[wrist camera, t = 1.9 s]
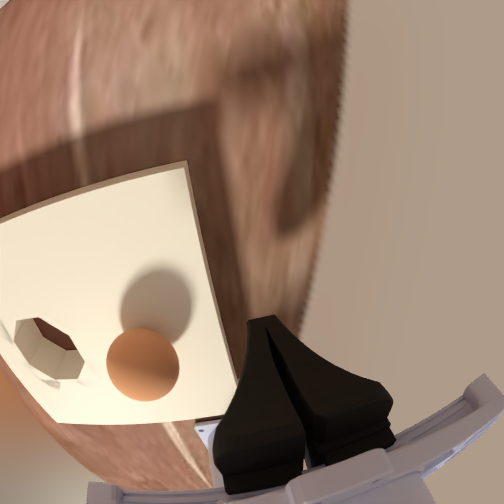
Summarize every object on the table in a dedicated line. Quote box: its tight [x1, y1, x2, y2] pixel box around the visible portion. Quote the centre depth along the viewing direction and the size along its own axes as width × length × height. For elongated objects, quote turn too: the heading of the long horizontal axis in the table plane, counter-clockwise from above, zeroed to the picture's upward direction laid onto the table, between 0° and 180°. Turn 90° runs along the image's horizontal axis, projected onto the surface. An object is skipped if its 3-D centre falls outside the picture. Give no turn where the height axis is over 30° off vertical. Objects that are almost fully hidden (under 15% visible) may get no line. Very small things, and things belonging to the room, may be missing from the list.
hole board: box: [0, 160, 238, 425], centre depth 14 cm, size 16×16×3 cm
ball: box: [106, 328, 180, 402], centre depth 12 cm, size 4×4×4 cm
